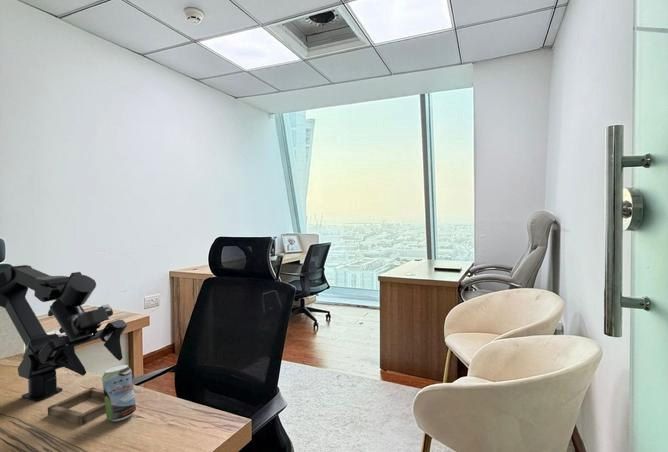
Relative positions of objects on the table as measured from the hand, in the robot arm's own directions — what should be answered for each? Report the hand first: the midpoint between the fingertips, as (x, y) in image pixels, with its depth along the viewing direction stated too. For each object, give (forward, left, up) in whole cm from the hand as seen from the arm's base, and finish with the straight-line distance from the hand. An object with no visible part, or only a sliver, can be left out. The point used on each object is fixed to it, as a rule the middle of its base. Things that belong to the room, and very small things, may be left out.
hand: (103, 366), depth 85 cm
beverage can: (+5, 0, -12) cm, 13 cm away
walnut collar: (-6, 0, -11) cm, 13 cm away
